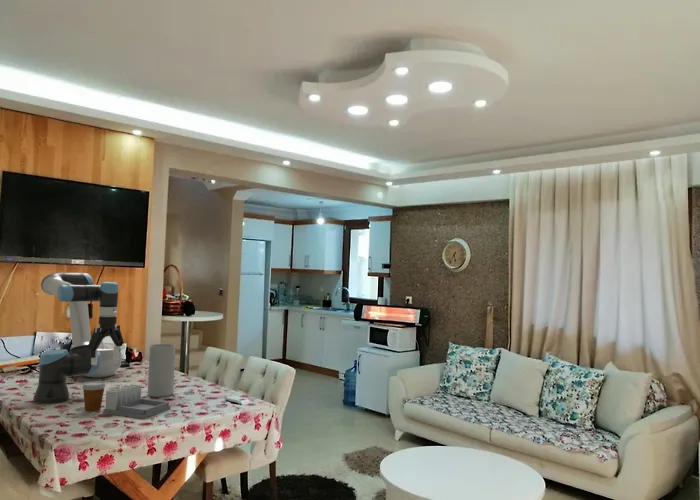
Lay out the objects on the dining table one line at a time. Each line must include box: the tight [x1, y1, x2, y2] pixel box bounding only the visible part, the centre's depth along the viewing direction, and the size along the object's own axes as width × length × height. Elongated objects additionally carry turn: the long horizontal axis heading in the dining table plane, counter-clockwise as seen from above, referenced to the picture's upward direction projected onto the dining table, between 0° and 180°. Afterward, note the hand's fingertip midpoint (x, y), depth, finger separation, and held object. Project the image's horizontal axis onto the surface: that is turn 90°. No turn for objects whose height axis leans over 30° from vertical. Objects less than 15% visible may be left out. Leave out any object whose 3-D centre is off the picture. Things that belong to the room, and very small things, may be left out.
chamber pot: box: [83, 340, 126, 379], centre depth 320 cm, size 28×28×21 cm
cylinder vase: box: [147, 343, 176, 398], centre depth 278 cm, size 12×12×25 cm
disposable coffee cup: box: [82, 380, 106, 413], centre depth 245 cm, size 10×10×12 cm
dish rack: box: [102, 383, 171, 420], centre depth 246 cm, size 22×18×10 cm
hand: (105, 362), depth 248 cm, fingers open, 13 cm apart
